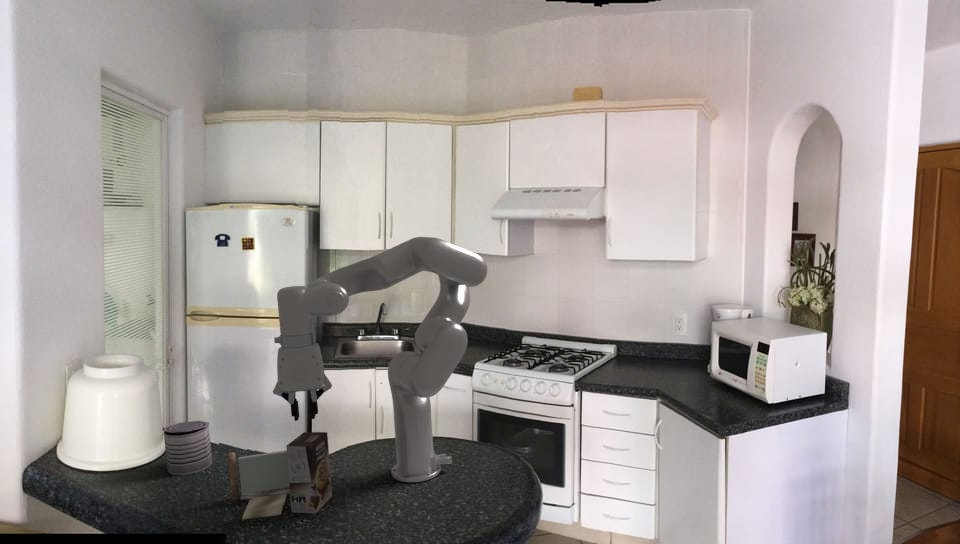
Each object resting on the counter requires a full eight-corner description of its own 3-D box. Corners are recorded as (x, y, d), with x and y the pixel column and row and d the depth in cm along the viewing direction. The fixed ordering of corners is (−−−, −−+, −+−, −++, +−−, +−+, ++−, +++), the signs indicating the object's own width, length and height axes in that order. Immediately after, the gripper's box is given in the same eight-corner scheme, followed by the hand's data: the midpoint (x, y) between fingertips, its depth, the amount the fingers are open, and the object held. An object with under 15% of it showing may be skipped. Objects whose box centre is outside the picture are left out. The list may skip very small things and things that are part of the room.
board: (287, 495, 156) (286, 493, 156) (280, 514, 146) (280, 513, 146) (250, 499, 155) (250, 497, 155) (242, 519, 145) (241, 517, 145)
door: (241, 494, 155) (238, 459, 154) (242, 492, 156) (238, 457, 155) (295, 486, 158) (292, 451, 157) (295, 483, 160) (292, 449, 159)
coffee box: (316, 514, 145) (310, 446, 144) (290, 513, 147) (284, 445, 145) (333, 495, 154) (328, 431, 152) (309, 494, 156) (303, 430, 154)
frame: (307, 487, 160) (303, 443, 158) (306, 492, 157) (302, 448, 155) (233, 496, 157) (229, 451, 156) (231, 501, 154) (226, 456, 153)
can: (158, 471, 174) (153, 429, 173) (194, 455, 184) (190, 415, 183) (185, 478, 169) (181, 434, 167) (221, 461, 179) (217, 420, 177)
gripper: (258, 347, 141) (265, 427, 143) (334, 340, 143) (340, 419, 146) (264, 340, 148) (271, 416, 151) (336, 334, 151) (342, 409, 153)
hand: (305, 417), depth 148 cm, fingers open, 3 cm apart
